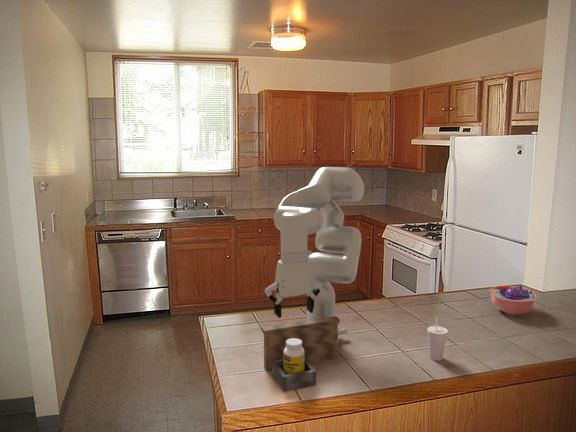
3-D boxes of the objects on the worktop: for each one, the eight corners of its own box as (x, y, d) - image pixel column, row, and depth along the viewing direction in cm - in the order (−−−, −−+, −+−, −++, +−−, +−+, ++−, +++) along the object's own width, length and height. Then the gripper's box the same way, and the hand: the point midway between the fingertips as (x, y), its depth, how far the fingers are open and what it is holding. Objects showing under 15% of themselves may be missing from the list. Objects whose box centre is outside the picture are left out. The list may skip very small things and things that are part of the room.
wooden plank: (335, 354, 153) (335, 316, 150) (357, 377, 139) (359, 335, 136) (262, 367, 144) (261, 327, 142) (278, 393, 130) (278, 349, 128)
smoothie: (422, 353, 153) (424, 313, 151) (441, 352, 154) (444, 312, 151) (430, 363, 147) (432, 321, 145) (449, 362, 148) (452, 320, 145)
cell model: (537, 308, 193) (540, 282, 191) (532, 325, 176) (535, 296, 174) (493, 300, 202) (495, 275, 200) (485, 315, 185) (487, 288, 183)
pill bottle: (280, 379, 135) (279, 344, 133) (288, 370, 141) (287, 335, 139) (300, 383, 133) (300, 347, 131) (307, 373, 138) (307, 338, 137)
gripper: (317, 249, 137) (316, 304, 140) (260, 255, 131) (261, 313, 134) (328, 256, 130) (327, 314, 133) (268, 262, 124) (269, 323, 127)
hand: (294, 313), depth 134 cm, fingers open, 9 cm apart
